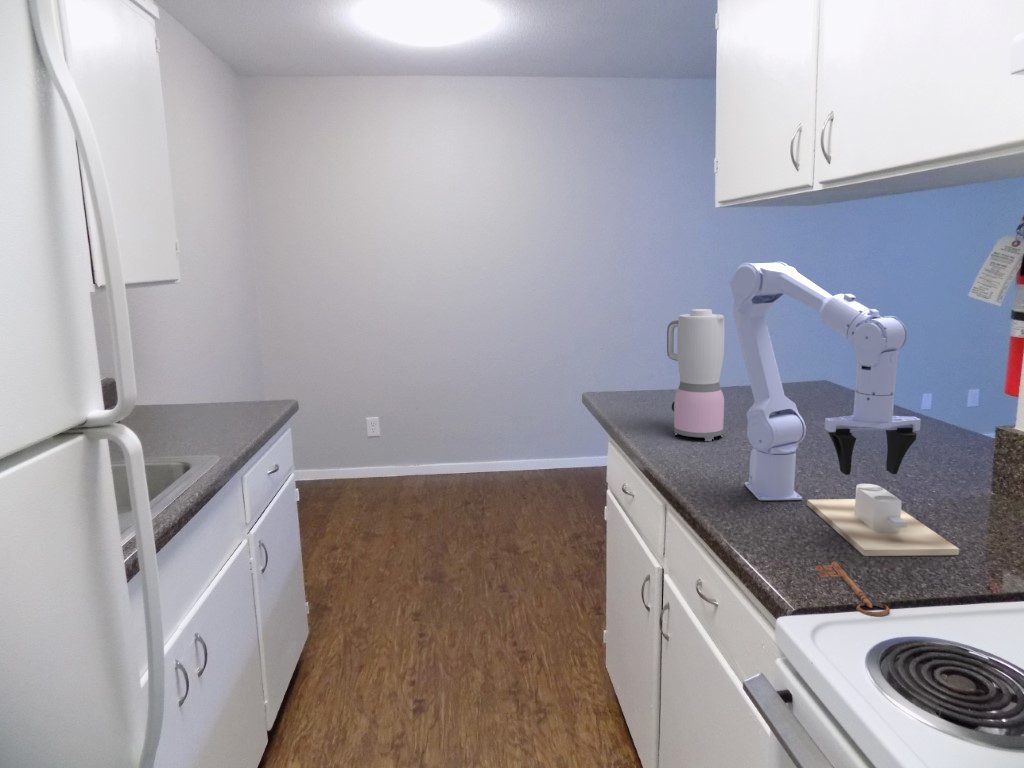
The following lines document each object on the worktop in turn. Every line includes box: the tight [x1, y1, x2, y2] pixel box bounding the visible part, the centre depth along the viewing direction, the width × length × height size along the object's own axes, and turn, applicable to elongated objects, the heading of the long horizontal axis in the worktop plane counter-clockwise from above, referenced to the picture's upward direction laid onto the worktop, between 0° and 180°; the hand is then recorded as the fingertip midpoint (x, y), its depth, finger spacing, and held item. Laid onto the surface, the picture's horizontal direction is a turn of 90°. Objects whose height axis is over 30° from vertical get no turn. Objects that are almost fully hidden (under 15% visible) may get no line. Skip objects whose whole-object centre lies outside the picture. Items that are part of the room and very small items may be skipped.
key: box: [814, 561, 891, 617], centre depth 94 cm, size 6×1×15 cm
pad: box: [806, 498, 960, 557], centre depth 115 cm, size 22×14×1 cm, turn 178°
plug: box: [855, 483, 907, 534], centre depth 113 cm, size 12×4×5 cm, turn 178°
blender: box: [666, 308, 726, 440], centre depth 173 cm, size 16×12×32 cm
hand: (868, 472), depth 114 cm, fingers open, 7 cm apart
